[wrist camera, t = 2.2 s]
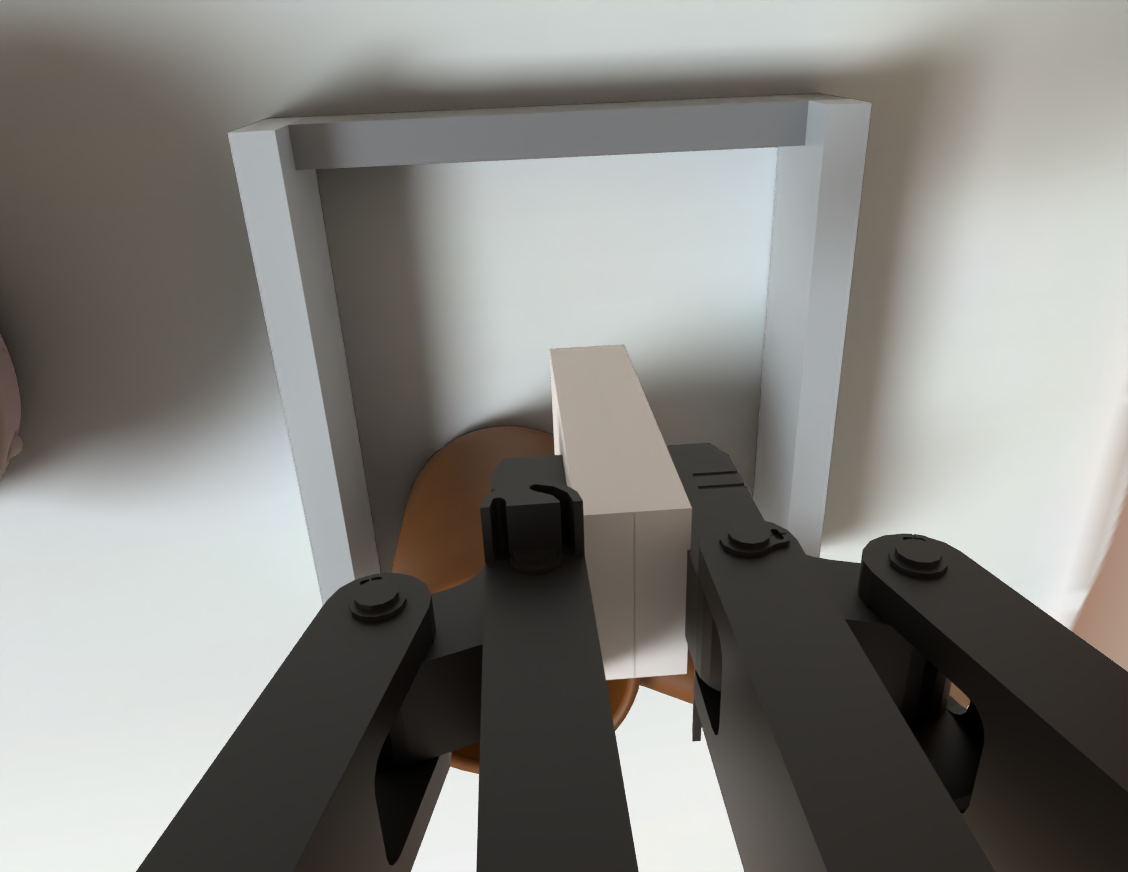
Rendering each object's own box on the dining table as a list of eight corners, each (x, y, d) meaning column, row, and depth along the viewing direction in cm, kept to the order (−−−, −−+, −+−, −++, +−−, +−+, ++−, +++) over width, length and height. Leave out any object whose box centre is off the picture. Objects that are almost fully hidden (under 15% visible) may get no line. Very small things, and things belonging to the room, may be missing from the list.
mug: (741, 447, 31) (831, 602, 23) (691, 611, 34) (755, 801, 26) (417, 403, 29) (383, 553, 21) (397, 580, 33) (360, 772, 24)
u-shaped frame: (266, 118, 25) (227, 132, 21) (819, 93, 26) (871, 102, 22) (351, 588, 32) (333, 656, 29) (778, 557, 33) (811, 620, 30)
